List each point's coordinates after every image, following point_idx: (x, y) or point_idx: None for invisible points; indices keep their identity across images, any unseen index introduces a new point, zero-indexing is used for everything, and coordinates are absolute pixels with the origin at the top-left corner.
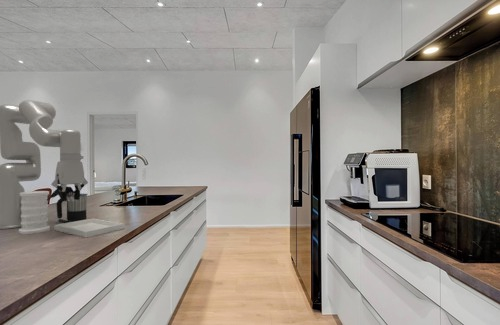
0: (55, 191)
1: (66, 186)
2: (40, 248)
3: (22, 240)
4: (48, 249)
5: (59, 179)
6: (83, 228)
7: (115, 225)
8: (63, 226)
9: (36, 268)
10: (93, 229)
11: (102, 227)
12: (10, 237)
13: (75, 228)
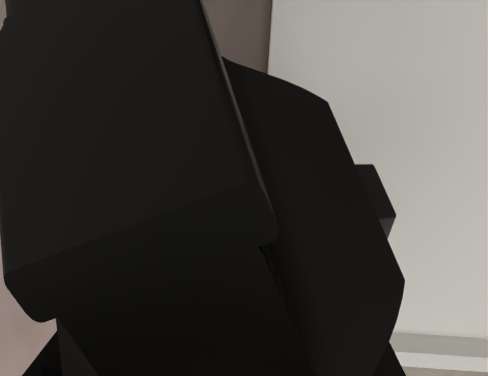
0: (22, 38)
1: (250, 311)
2: (8, 315)
3: (2, 26)
4: (25, 365)
5: None
6: (403, 99)
7: (468, 368)
8: (282, 26)
9: None
10: (407, 203)
11: (484, 204)
12: None
13: (378, 34)
